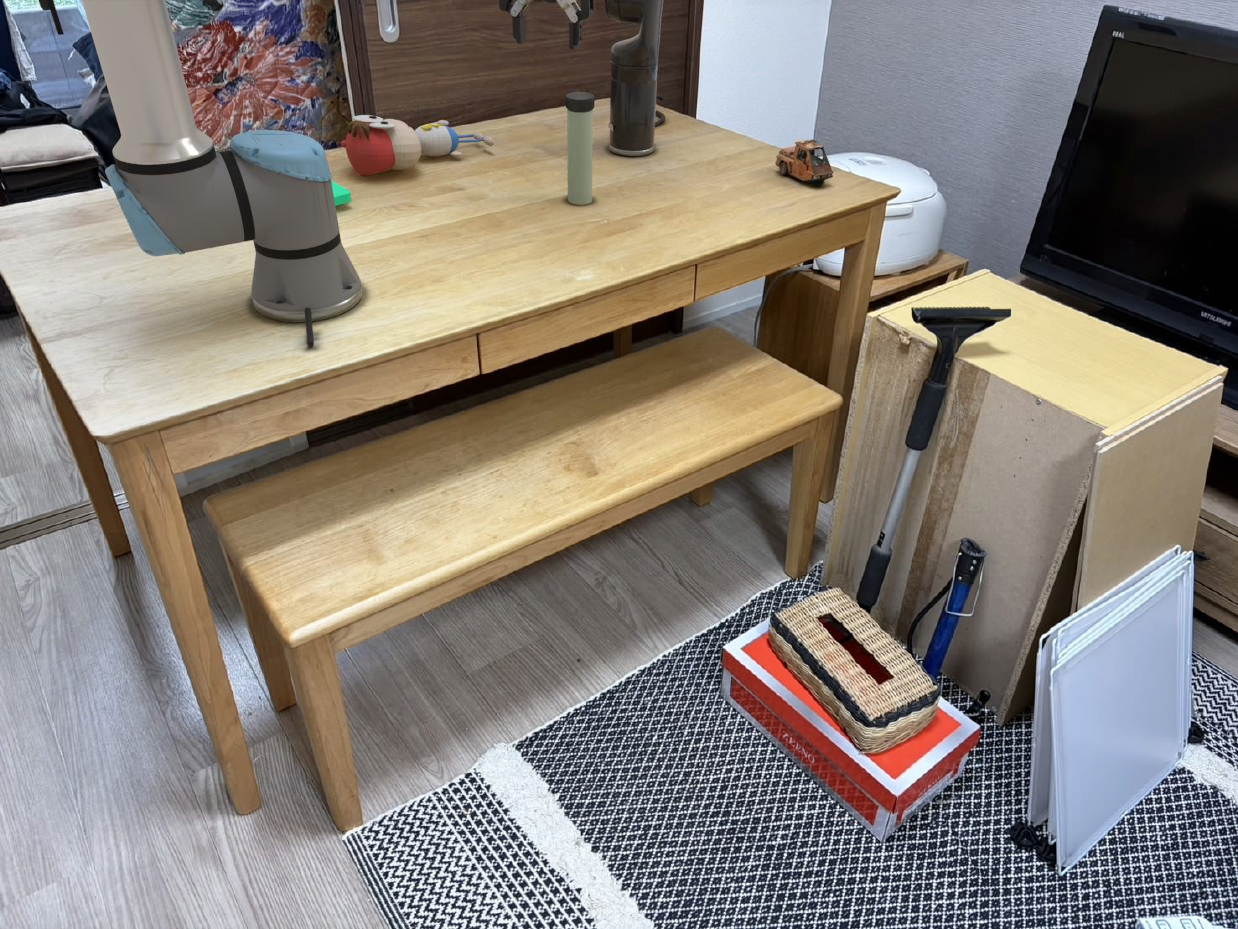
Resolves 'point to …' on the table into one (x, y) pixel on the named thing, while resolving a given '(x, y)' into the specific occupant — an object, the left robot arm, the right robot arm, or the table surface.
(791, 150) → the toy car
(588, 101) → the lid
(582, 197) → the jar
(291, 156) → the left robot arm
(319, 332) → the table surface
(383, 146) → the toy
